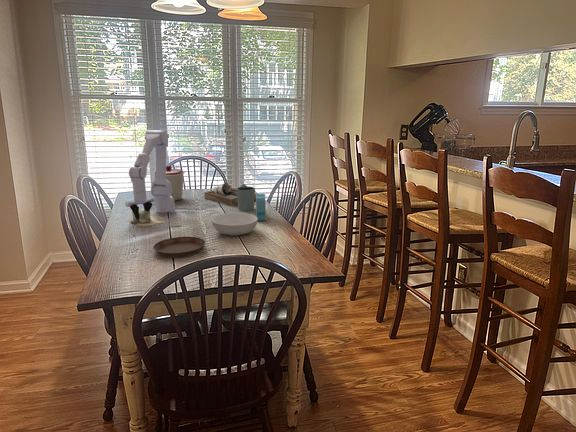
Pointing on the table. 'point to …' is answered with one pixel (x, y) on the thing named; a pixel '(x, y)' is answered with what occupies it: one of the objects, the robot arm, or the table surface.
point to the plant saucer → (179, 246)
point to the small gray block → (135, 221)
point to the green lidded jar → (246, 198)
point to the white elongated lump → (225, 190)
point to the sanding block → (143, 216)
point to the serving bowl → (234, 223)
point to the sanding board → (154, 220)
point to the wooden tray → (223, 198)
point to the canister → (174, 181)
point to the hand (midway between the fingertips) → (142, 218)
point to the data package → (260, 207)
